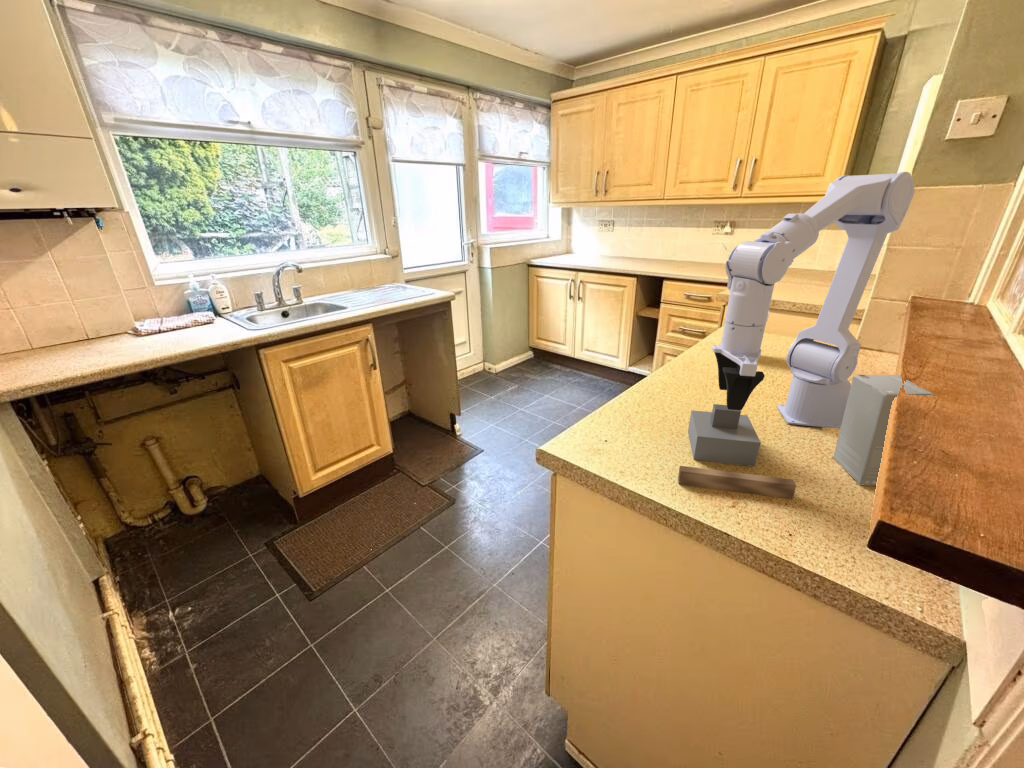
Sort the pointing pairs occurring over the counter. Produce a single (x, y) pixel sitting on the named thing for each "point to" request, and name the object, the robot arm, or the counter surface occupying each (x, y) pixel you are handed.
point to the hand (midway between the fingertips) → (729, 398)
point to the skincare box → (868, 423)
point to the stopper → (737, 482)
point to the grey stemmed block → (723, 436)
